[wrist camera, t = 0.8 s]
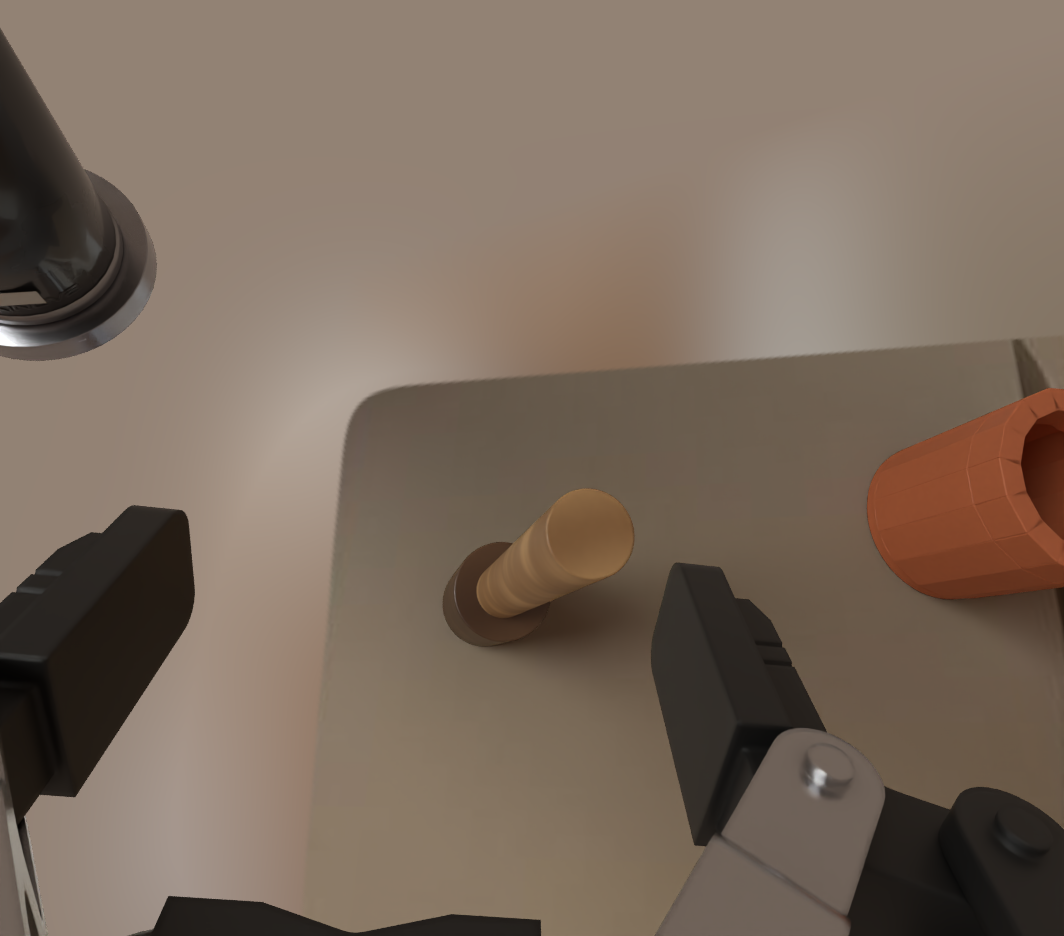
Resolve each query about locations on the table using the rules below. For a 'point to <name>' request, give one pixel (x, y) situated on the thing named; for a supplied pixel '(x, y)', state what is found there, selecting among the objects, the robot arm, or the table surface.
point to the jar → (977, 504)
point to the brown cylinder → (537, 568)
